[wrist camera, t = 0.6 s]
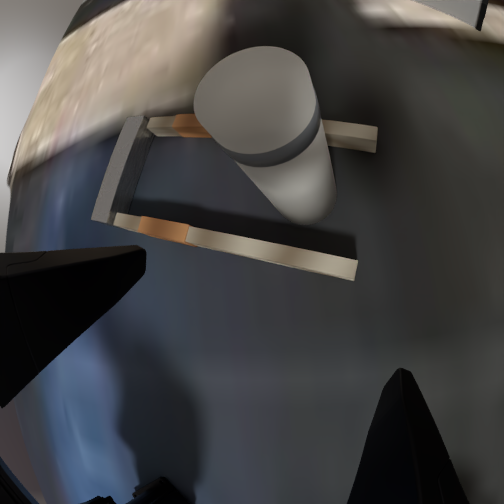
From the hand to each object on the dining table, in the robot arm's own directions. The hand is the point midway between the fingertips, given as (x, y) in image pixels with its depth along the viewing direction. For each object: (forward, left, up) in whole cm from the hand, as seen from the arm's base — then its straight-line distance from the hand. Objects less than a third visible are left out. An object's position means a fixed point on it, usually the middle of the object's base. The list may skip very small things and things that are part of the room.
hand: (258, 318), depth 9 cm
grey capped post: (+6, +6, -13) cm, 16 cm away
